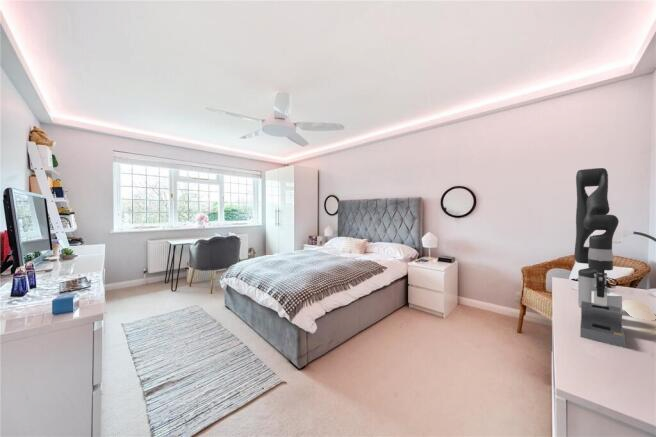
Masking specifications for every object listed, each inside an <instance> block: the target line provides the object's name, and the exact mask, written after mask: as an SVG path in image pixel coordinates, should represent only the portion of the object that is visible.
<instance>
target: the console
mask: <svg viewBox="0 0 656 437" xmlns="http://www.w3.org/2000/svg"><path fill="white" fill-rule="evenodd" d="M580 311H581V312H580V314H581V315H580V316H581V317H580V327H579V328H580V331H579V332H580V333H579V335H580V338H584V339H588V340H592V341H596V342H600V343H605V344H608V345H611V346H616V347H620V346H621V347H620V348H624V347H625V348H626V336H625V333H624V329H623V324H622V323H623V312H622V313H621V309H620V308H619V307H614V306H608V305H607V306H605V305H599V304H594V303H590V302H584V301H582V304H581V307H580Z"/></svg>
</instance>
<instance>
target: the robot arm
mask: <svg viewBox="0 0 656 437" xmlns="http://www.w3.org/2000/svg"><path fill="white" fill-rule="evenodd" d="M575 182H576V183H575V184H576V208H575V210H576V212H575V213H576V214H575V246H574V252H573V253H574V254H573V255H574V261H575V262H576V263H578V264H587V265H588V266H587V267H588V268H587V267H586V268H582V269H579V270H578V272H577V273H578V276H577V277H578V278H577V279H578V280H577V281H578V284H577V285H578V286H577V288H578V299H577V300H578V303H577V304H578V307H580V308H581V304H582V301H584V302H590V303H592V297H591V291H594V285H597V286H596V288H597V297H602V298H604V290H605V286H606V285H607V278H608V274H607V272H605V271H613V270H614V254H613V238H614V235H615V233H616V231H617V228H618V225H619V218H618V217H617V216H616V215H615V214H614V215H613V214H609V213H610V204H609V198H608V193H609V173H608V170H607V169H606V168H604V167H603V168H602V167H599V168H598V167H597V168H583V169H579V170H577V172H576V176H575ZM586 187H587V188H590V187H597V188H596V189H595V190H594V191H592V192H591V194H590V195H588V193H587V191H586ZM595 231H605V232H603V233H602V234H595V235H594V232H595ZM587 240H588V246H585V244H586V242H587Z"/></svg>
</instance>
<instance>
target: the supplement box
mask: <svg viewBox="0 0 656 437" xmlns="http://www.w3.org/2000/svg"><path fill="white" fill-rule="evenodd" d="M591 297H592V303H594V291H591ZM607 305H608V306H614V307H619V308H620V309H621V313H622V314H623V296H622V295H620V294H616V293H613V292H610V294H607Z"/></svg>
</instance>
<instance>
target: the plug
mask: <svg viewBox="0 0 656 437" xmlns="http://www.w3.org/2000/svg"><path fill="white" fill-rule="evenodd" d="M596 286H597V285H594V304H599V305H605V306H607V294H610V293H611V292H610V291H611V289H610V287H607V286H606V285H605V290H604V298H602V297H597V288H596Z"/></svg>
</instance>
